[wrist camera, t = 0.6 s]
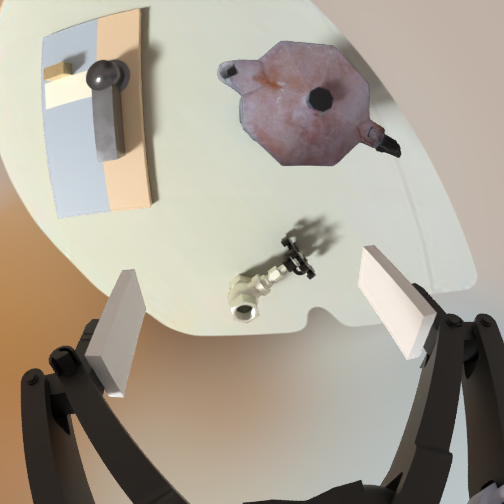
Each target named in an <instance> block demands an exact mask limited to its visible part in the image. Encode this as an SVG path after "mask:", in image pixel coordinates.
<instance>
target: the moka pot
mask: <svg viewBox="0 0 504 504" xmlns="http://www.w3.org/2000/svg"><path fill="white" fill-rule="evenodd" d="M217 76H218V78H219V80H220V81H221V82H223V83H224V84H226V85H228V86H229V87H231V88H232V89H234V90H235V91H236V92H238V93H239V94H240V95H241V99H240V105H239V115H240V123H241V124H242V127H243V130H245V131H246V132H247V133H248V134H249V135H250V137H251V138H252V139H253V140H254V141H257V142H258V143H259V144H260V145H261V146H262V147H263V148H264V149H265V150H266V151H267V152H268V153H269V154H270V155H271V156H272V157H273V158H275V159H276V160H277V161H278V162H279V163H280V164H281V165H282V166H306V165H307V166H334V165H335V164H337V163H338V162H339V161H341V160H342V158H343V157H344V156H345V155H346V154H348V153H349V152H350V151H351V150H352V149H353V148H354V147H355V146H356V145H357V144H358V143H364V144H366V145H368V146H370V147H372V148H375V149H376V150H377V151H380V152H381V153H382V152H385V153H388V154H391V155H393V156H396V157H397V158H399V157H400V156H401V151H400V149H401V148H400V145H399V144H398V143H397V142H396V140H394V139H392V138H391V137H389V136H387V135H385V134H384V132H385V129H384V128H383V127H381V126H379V125H378V124H376V123H375V122H373V121H372V120H370V114H369V84H368V83H367V81H366V80H365V79H364V78H363V77H362V75H361V74H360V73H359V72H358V71H357V70H356V69H355V67H354V66H353V65H352V64H351V63H350V62H349V61H348V60H347V59H346V58H345V57H344V56H343V55H342V54H341V53H340V52H339V51H338V49H337V48H336V47H334V46H331V45H324V44H314V43H303V42H293V41H280V42H279V43H277V44H276V45H275V46H274V47H273V48H271V49H270V50H269V51H268V52H267V53H266V54H265V55H264V56H262V57H261V58H260V59H258V60H232V61H226V62H224V63H222V64H220V65H219V68H218V71H217Z"/></svg>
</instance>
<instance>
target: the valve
mask: <svg viewBox="0 0 504 504" xmlns="http://www.w3.org/2000/svg"><path fill="white" fill-rule="evenodd" d="M281 243H282V244H283V246H284V247H285V246H288V248H289V250H290V251H289V252H288V253H286V254H285V256H284V258H283V260H282V263H283V264H282V265H281V266H280V267H277V266H274V267H273V268H271V269H270V270H269V271H268V275H267V276H266V275H262V276H261V275H259V274H257V275H255V276H254V277H253V278H252V279H251V278H250V277H246V276H242V275H238V276H236V277H235V278H234V279H232V280H231V281H230V282H229V289H230V291H229V293H228V303H229V305H230V307H231V310H232V314H233V318H234V320H235V321H238V322H242V323H249V322H251V321H252V320H254V319H255V318H257V317H258V316H259V313H258V307H257V304H258V298H259V297H260V296H261V295H263V296H265V295H267V294H268V293H270V292H271V290H270V287H271V286H272V282H273V281H274V282H276V283H277V282H278V281H279V280H281V279H282V278H283V277H284V276H283V273H284V272H286V271H287V270H288V271H289V272H292V271H293V272H294V273H295V274H297V275H303V274H305V273H306V272H307V274H308V275H307V277H308V278H309V279H312V278H313V277H314V276H316V274H315V271H314V269H313V268H312V266H311V265H309V264H308V262H307V261H308V260H307V259H306V257H305V256H304V255H302V254H301V253H300V251H299V250H298V249H299V248H298V247H297V245H296V244H295V243H292V240H291V239H290V238H289V236H286V237H284V238H283V239H282V241H281ZM299 265H300V266H299ZM297 267H299V269H300V270H301V271H298V270H297V269H296V268H297Z"/></svg>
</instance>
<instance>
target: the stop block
mask: <svg viewBox="0 0 504 504" xmlns="http://www.w3.org/2000/svg"><path fill="white" fill-rule="evenodd" d="M70 75H72V64H71V63H68V62H60V63H58V64H55V65H52V66H49V67H47V68H44V80H46V81H55V80H58V79H61V78H64V77H67V76H70Z"/></svg>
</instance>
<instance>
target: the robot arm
mask: <svg viewBox="0 0 504 504" xmlns="http://www.w3.org/2000/svg"><path fill="white" fill-rule="evenodd" d="M358 287H359V288H360V290H361V291H362V292H363V294H364V295H365V297H366V298H367V300H368V301H369V303H370V304H371V306H372V307H373V309H374V310H375V311H376V313H377V314H378V316H379V317H380V319H381V320H382V322H383V323H384V325H385V326H386V328H387V330H388V331H389V333H390V334H391V335H392V337H393V339H394V340H395V342H396V343H397V345H398V347H399V348H400V350H401V351H402V353H403V354H404V356H405V358H406V359H407V360H410V359H413V358H416V357H419V356H420V354H421V351H422V349H423V348H424V349H425V350H426V352H427V354H426V356H425V358H424V361H423V362H422V365H421V367H420V368H422V367H423V368H422V372H421V376H420V380H419V384H418V388H417V391H416V395H415V399H414V402H413V406H412V409H411V412H410V416H409V419H408V422H407V425H406V428H405V431H404V434H403V436H402V440H401V442H400V445H399V448H398V450H397V453H396V455H395V458H394V460H393V463H392V465H391V468H390V470H389V472H388V474H387V475H386V477H385V478H384V480H383V482H382V483H381V485H380V486H376V485H363V484H362V481H361V480H359V481H356V482H353V483H349V484H345V485H342V486H338V487H335V488H332V489H330V490H328V491H326V492H324V493H322V494H320V495H318V496H316V497H313V498H311V499H309V500H306V501H289V500H266V501H257V502H246V503H243V504H439V503H440V500H441V497H442V494H443V491H444V488H445V485H446V481H447V478H448V474H449V471H450V467H451V464H452V458H453V455H452V453H450V452H449V447H450V443H451V439H452V434H453V429H454V424H455V419H456V413H457V406H458V401H459V393H460V385H461V382H462V388H463V395H464V404H465V414H466V425H467V442H468V490H469V498H470V500H469V502H468V503H467V504H504V342H503V339H502V337H501V334H500V332H499V329H498V326H497V324H496V321H495V320H494V319H493V318H492V317H491V316H489V315H487V314H478V315H477V316H476V318H475V321H474V322H463V320H462V319H461V318H460V317H458V316H457V315H454V314H446V313H445V312H444V310H443V309H442V308H441V307H440V306H439V305H438V304H437V303H436V301H435V300H433V299H432V297H431V296H430V295H428V293H427V292H426V291H425V289H424V288H423V287H421V286H419V285H418V284H416V283H413V284H411V283H410V282H409V281H408V280H407V279H406V278H405V277H404V276H403V274H402V273H401V272H400V271H399V270H398V269H397V268H396V267H395V266H394V265H393V264H392V263H391V262H390V261H389V260H388V259H387V258H386V257H385V256H384V255H383V254H382V253H381V252H380V250H379V249H378V248H377V247H376V246H375V245H373V246H363V252H362V260H361V267H360V274H359V281H358ZM145 311H146V306H145V303H144V300H143V297H142V293H141V290H140V287H139V283H138V280H137V276H136V272H135V269H132V270H122V272H121V274H120V276H119V278H118V280H117V282H116V285H115V287H114V289H113V291H112V293H111V295H110V297H109V299H108V302H107V304H106V306H105V308H104V311H103V313H102V315H101V317H100V319H92V320H91V321H90V322H89V323H88V324H87V325H86V327H85V329H84V331H83V335H82V336H81V338H80V341H79V343H78V345H77V347H76V350H74V349H73V348H72V347H70V346H62V347H59V348H57V349H56V350H54V351H53V352H52V354H51V355H50V357H49V364H50V365H51V367H52V368H53V370H54V371H55V373H53V374H48V375H44V373H43V372H42V371H41V370H40V369H37V368H35V369H31V370H29V371H27V372H26V373H25V374H24V375H23V377H22V380H21V417H22V431H23V442H24V452H25V460H26V467H27V473H28V479H29V484H30V489H31V494H32V499H33V503H34V504H95V502H94V499H93V496H92V493H91V491H90V488H89V485H88V482H87V478H86V475H85V472H84V469H83V465H82V462H81V458H80V455H79V450H78V447H77V443H76V438H75V434H74V430H73V425H72V420H71V415H70V414H76V416H77V417H78V419H79V421H80V423H81V425H82V427H83V429H84V431H85V432H86V434H87V436H88V438H89V439H90V441H91V443H92V444H93V446H94V448H95V449H96V451H97V452H98V454H99V456H100V457H101V459H102V460H103V462H104V464H105V465H106V467H107V468H108V470H109V471H110V473H111V474H112V475H113V477H114V478H115V480H116V481H117V482H118V484H119V485H120V487H121V488H122V489H123V491H124V492H125V493H126V494H127V496H128V497H129V499H130V500H131V501H132V502H133V504H190V503H189V502H188V501H187V500H186V499H185V498H184V497H183V496H182V495H181V494H180V493H179V492H178V491H177V490H176V489H175V488H174V487H173V486H172V485H171V484H170V483H169V482H168V480H167V479H165V477H164V476H163V475H162V474H161V473H160V472H159V470H158V469H157V468H156V467H155V466H154V465H153V464H152V462H151V461H150V460H149V459H148V458H147V457H146V455H145V454H144V453H143V451H142V450H141V449H140V448H139V446H138V445H137V444H136V443H135V442H134V440H133V439H132V437H131V436H130V435H129V433H128V432H127V431H126V430H125V428H124V427H123V425H122V424H121V423H120V421H119V420H118V418H117V417H116V416H115V414H114V413H113V411H112V410H111V408H110V407H109V405H108V404H107V402H106V401H105V399H104V398H103V393H104V389H105V391H106V392H107V394H108V395H109V397H124V395H125V391H126V386H127V381H128V377H129V373H130V369H131V364H132V360H133V356H134V352H135V348H136V344H137V340H138V336H139V332H140V329H141V325H142V321H143V318H144V314H145Z"/></svg>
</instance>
